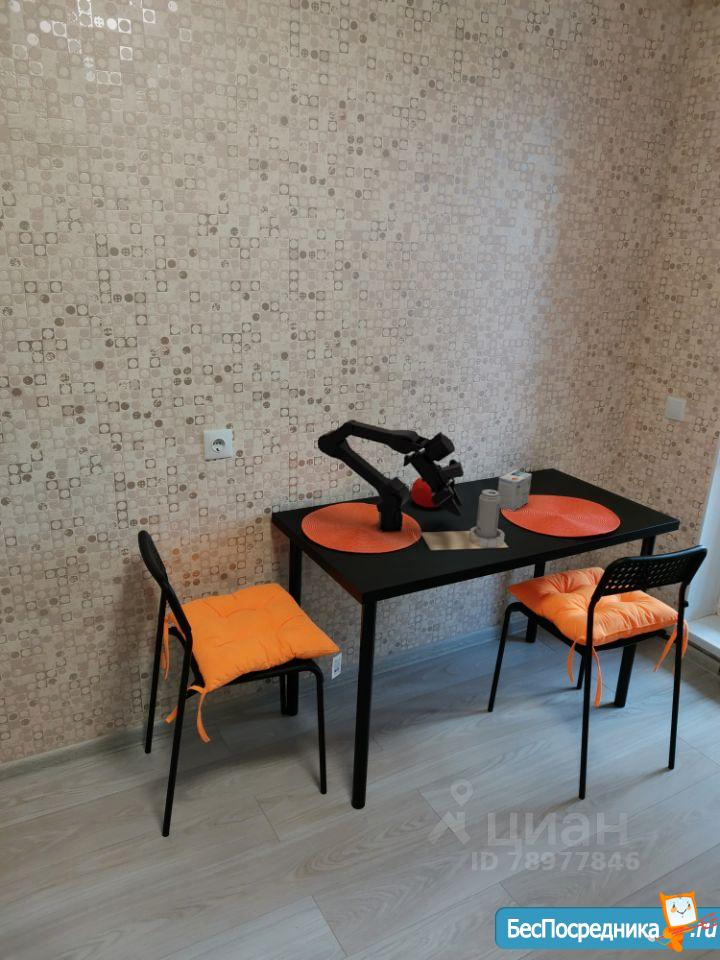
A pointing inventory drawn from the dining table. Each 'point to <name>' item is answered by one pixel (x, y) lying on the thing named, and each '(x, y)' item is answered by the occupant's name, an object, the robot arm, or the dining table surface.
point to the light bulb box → (514, 489)
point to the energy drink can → (488, 514)
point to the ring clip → (486, 539)
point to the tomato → (422, 493)
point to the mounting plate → (451, 540)
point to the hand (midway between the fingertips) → (460, 510)
